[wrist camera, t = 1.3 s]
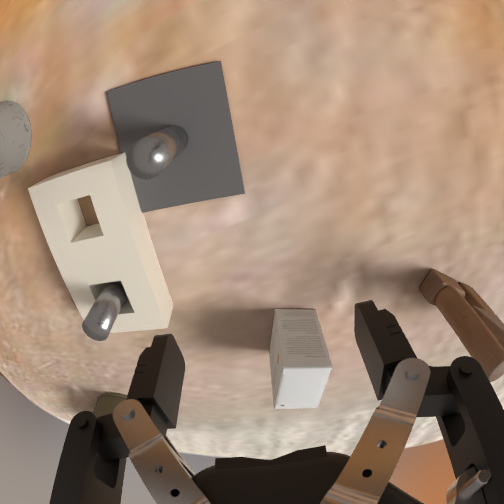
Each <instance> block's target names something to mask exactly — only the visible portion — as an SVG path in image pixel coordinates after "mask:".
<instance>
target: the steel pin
mask: <svg viewBox="0 0 504 504" xmlns="http://www.w3.org/2000/svg"><path fill="white" fill-rule="evenodd" d="M188 141H189V138H188V134H187V132H186V131H185V130H184V129H183V128H182V127H180V126H177V125H172V126H169V127H166V128H164V129H162V130H160V131H157V132H155V133H153V134H151V135H148V136H146V137H144V138H142V139H140V140H138V141H136V142H134V143H133V144H132V145H131V146H130V148H129V149H128V151H127V155H126V163H127V166H128V168H129V170H130V172H131V173H132V174H133V175H135V176H136V177H138V178H141V179H151V178H154V177H156V176H157V175H159V174H160V173H161V172H162V171H163V170H164V169H165V168H166V167H167V166H168V165H169V164H170V163H171V162H172V161H173V160H174V159H175V158H176V157H177V156H178V155H179V154H180V153H181V152H182V151H184V150H185V148H186V147H187V145H188Z"/></svg>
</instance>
